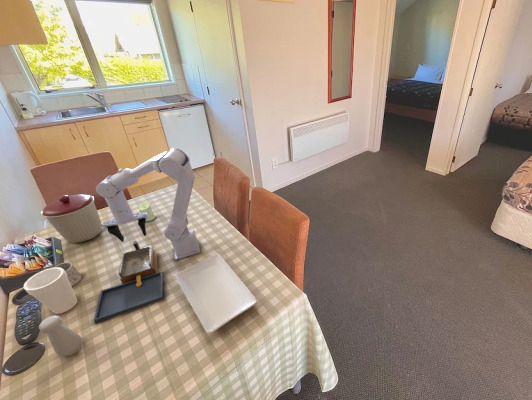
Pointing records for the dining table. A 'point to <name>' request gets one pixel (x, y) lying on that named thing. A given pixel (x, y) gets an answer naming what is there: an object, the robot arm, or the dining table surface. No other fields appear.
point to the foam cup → (52, 289)
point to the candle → (147, 210)
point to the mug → (70, 272)
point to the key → (138, 281)
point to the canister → (74, 217)
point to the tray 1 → (129, 297)
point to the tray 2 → (214, 292)
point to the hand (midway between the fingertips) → (134, 237)
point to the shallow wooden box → (143, 274)
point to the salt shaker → (61, 336)
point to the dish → (136, 261)
